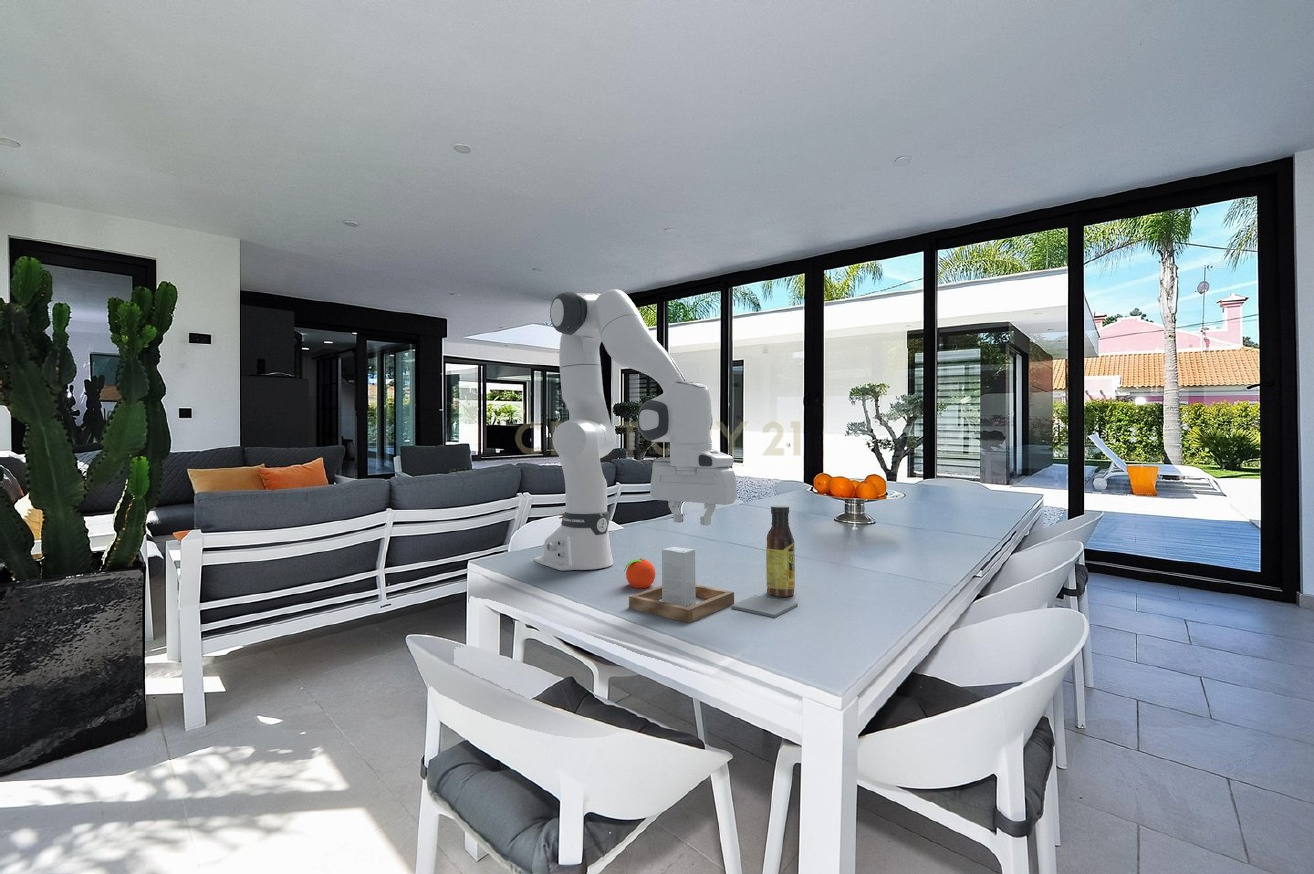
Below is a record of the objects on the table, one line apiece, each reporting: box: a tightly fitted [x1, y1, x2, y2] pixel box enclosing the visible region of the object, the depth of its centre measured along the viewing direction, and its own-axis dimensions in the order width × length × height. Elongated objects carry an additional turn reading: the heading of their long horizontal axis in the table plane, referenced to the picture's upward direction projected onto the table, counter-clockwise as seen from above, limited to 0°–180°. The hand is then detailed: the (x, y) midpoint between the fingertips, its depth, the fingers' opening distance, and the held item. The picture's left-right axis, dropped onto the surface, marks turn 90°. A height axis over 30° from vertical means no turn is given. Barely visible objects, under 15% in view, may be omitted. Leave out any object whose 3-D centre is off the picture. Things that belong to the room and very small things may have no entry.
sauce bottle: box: [765, 505, 796, 598], centre depth 132 cm, size 6×6×20 cm
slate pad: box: [730, 594, 798, 619], centre depth 123 cm, size 10×10×1 cm
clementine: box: [623, 558, 656, 589], centre depth 137 cm, size 8×7×7 cm
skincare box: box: [661, 546, 697, 607], centre depth 124 cm, size 6×4×12 cm
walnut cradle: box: [628, 584, 735, 624], centre depth 124 cm, size 15×16×2 cm
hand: (691, 523), depth 123 cm, fingers open, 6 cm apart
